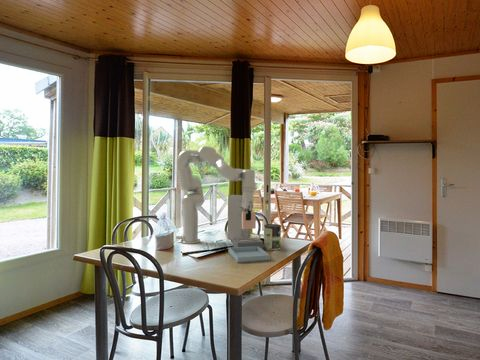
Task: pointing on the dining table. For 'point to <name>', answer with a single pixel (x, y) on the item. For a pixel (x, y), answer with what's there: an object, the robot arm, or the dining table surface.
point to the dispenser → (247, 242)
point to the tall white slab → (236, 218)
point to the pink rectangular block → (249, 221)
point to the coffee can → (272, 236)
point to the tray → (248, 254)
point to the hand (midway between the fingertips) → (247, 219)
